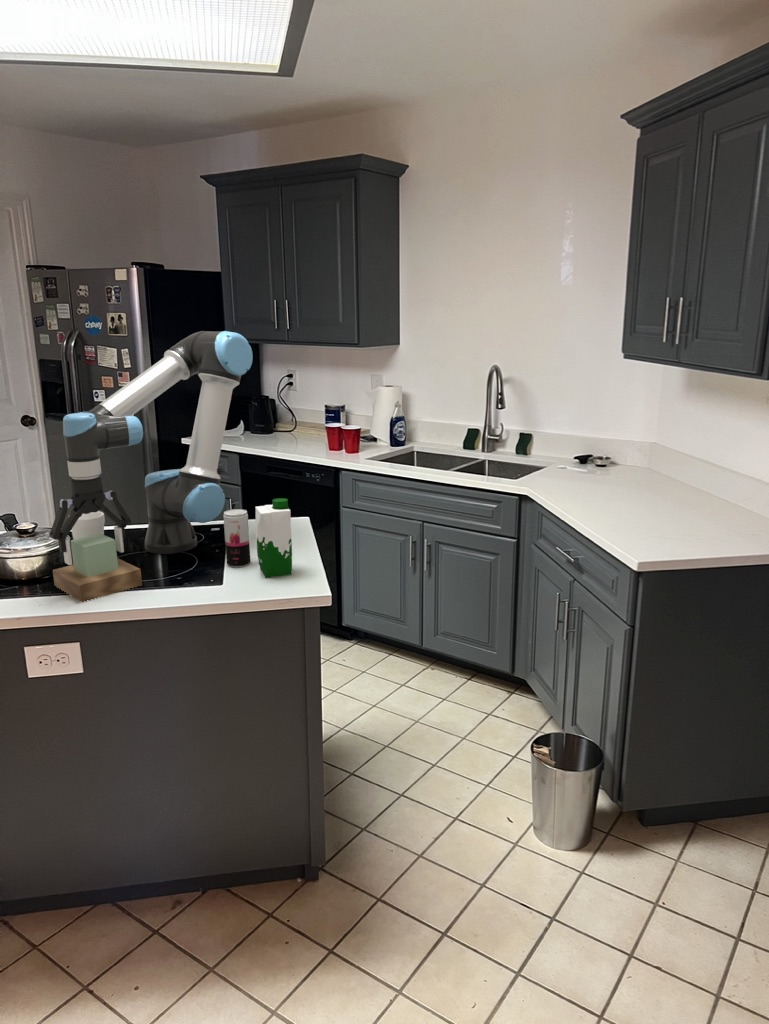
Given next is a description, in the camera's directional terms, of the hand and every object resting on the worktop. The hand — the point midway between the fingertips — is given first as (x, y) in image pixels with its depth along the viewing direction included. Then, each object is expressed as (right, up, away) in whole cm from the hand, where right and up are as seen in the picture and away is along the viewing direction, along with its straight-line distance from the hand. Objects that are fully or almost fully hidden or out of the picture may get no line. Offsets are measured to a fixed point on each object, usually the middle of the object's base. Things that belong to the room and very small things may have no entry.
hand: (95, 557), depth 192 cm
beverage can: (+33, -3, +18) cm, 38 cm away
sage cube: (0, -3, +1) cm, 3 cm away
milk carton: (+45, -5, +11) cm, 46 cm away
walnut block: (0, -8, +2) cm, 8 cm away
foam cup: (-10, -2, +23) cm, 25 cm away
